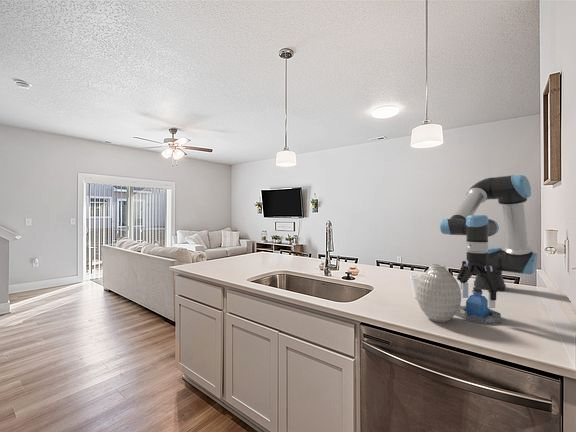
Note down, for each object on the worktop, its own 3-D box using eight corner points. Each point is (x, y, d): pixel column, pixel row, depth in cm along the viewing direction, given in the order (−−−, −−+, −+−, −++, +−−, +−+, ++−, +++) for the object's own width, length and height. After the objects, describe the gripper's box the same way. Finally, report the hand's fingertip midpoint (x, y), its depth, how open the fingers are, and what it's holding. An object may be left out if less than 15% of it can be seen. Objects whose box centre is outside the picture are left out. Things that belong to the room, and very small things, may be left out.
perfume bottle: (482, 320, 112) (482, 290, 112) (466, 316, 117) (465, 287, 117) (489, 317, 116) (488, 288, 116) (472, 313, 121) (472, 285, 121)
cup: (434, 301, 136) (433, 279, 136) (412, 300, 138) (412, 278, 138) (428, 296, 146) (428, 275, 146) (408, 295, 148) (407, 274, 148)
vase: (466, 319, 114) (465, 264, 114) (454, 330, 103) (454, 270, 103) (424, 309, 126) (424, 260, 125) (410, 319, 114) (409, 265, 114)
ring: (478, 309, 125) (478, 303, 125) (510, 322, 110) (510, 315, 110) (447, 311, 123) (447, 304, 123) (475, 324, 108) (475, 317, 108)
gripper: (447, 248, 128) (448, 294, 128) (495, 256, 104) (495, 313, 104) (462, 248, 129) (462, 293, 129) (512, 255, 105) (513, 312, 105)
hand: (477, 302), depth 117 cm, fingers open, 13 cm apart
